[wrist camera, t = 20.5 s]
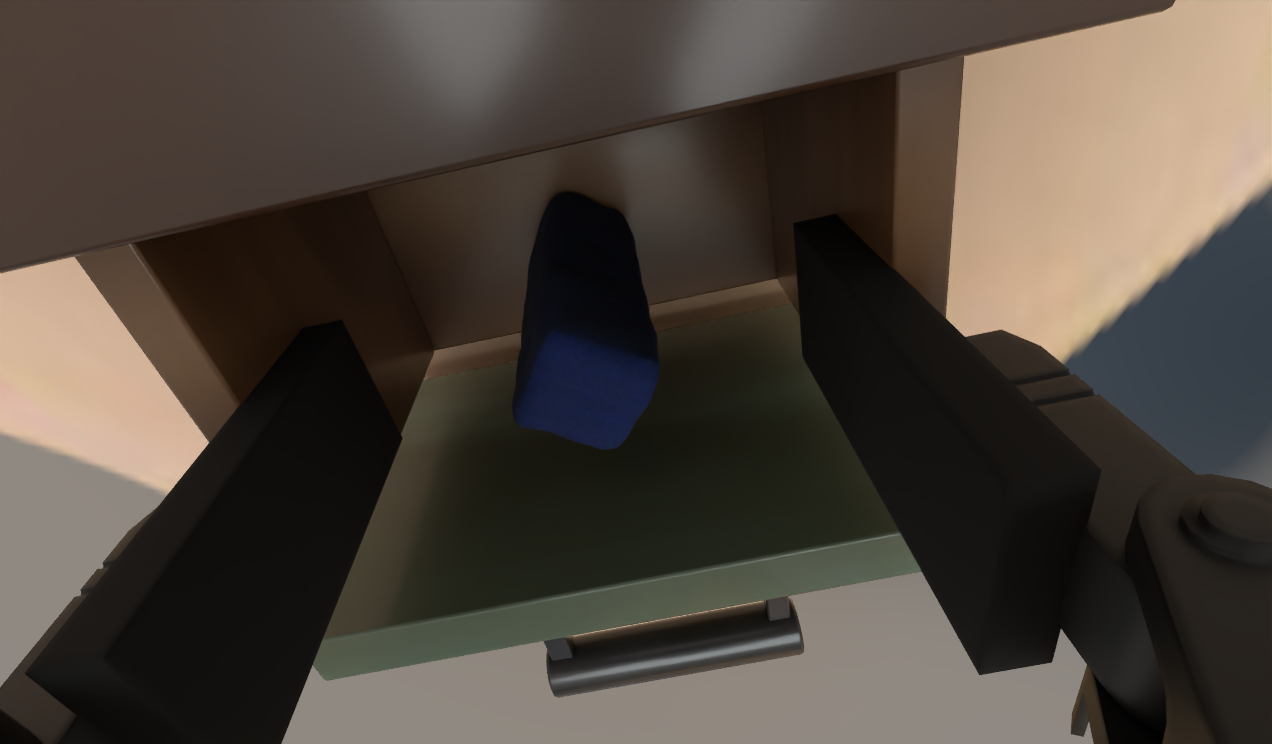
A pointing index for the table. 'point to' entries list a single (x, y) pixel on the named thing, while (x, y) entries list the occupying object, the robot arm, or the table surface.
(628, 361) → the eraser
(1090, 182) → the table surface
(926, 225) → the drawer
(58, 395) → the table surface
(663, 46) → the cabinet
